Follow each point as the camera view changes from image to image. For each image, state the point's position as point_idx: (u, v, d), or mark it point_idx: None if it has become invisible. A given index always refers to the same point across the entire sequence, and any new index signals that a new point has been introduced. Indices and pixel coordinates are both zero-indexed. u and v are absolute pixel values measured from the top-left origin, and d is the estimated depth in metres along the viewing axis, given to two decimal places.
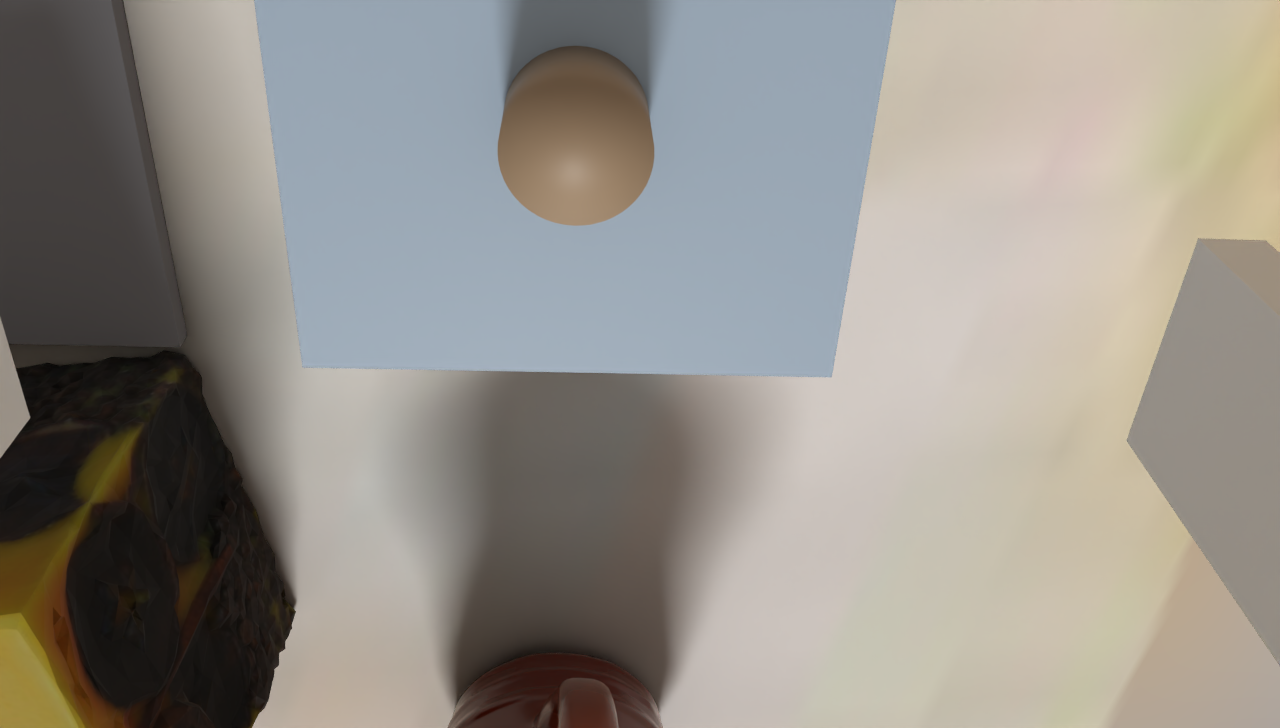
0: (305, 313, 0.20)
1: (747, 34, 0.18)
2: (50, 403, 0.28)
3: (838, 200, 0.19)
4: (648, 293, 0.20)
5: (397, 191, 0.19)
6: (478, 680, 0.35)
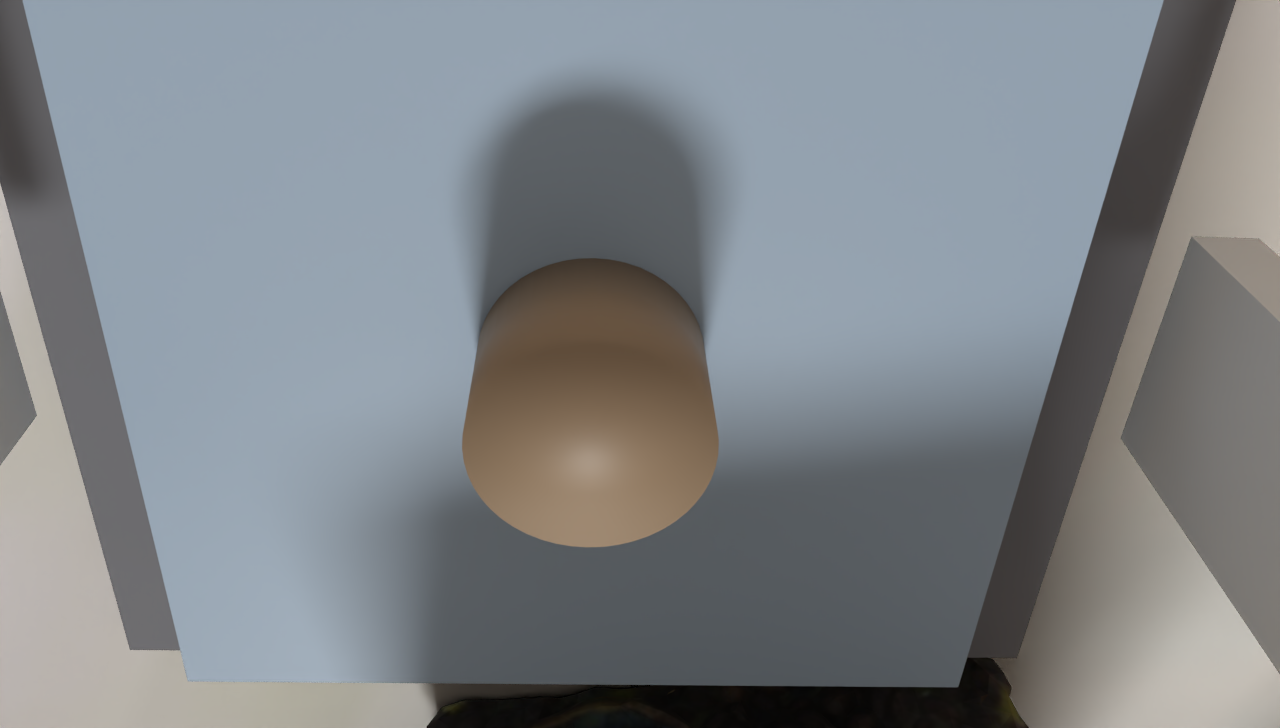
0: (186, 616, 0.13)
1: (863, 241, 0.11)
2: None
3: (988, 467, 0.13)
4: (696, 587, 0.14)
5: (315, 459, 0.12)
6: None
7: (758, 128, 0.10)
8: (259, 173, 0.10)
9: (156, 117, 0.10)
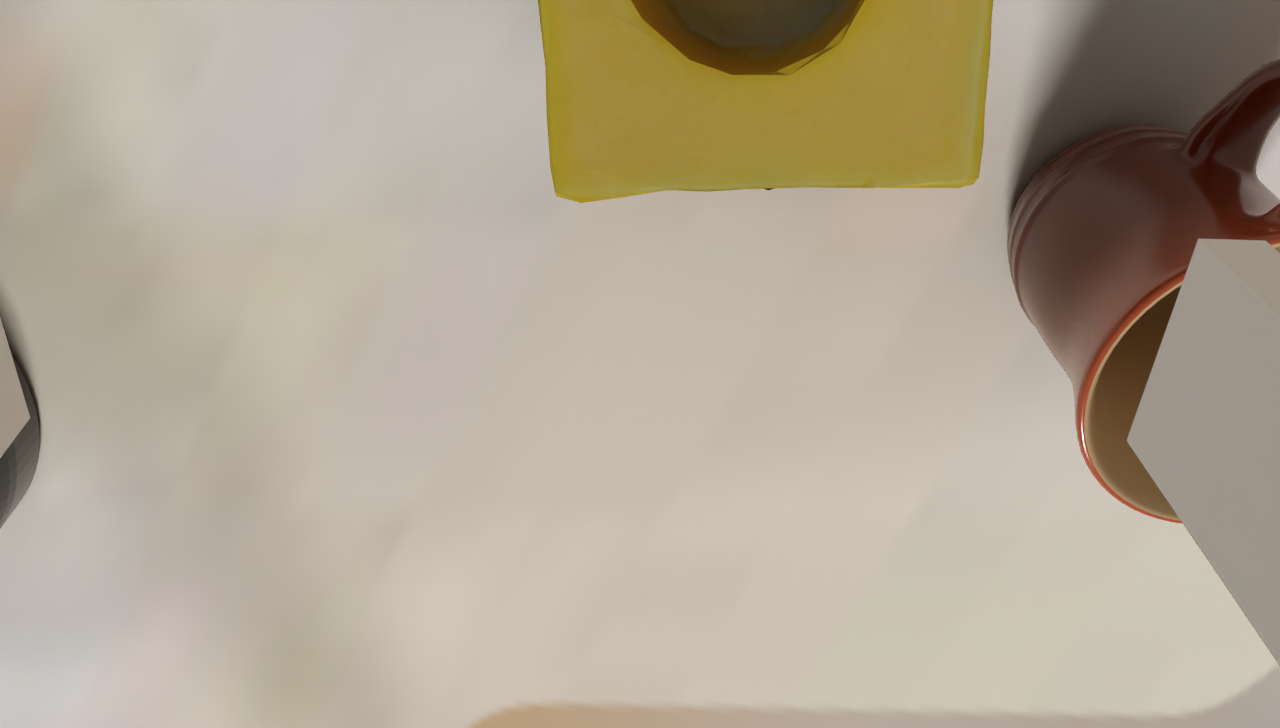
0: None
1: None
2: None
3: None
4: None
5: None
6: (1064, 151, 0.34)
7: None
8: None
9: None
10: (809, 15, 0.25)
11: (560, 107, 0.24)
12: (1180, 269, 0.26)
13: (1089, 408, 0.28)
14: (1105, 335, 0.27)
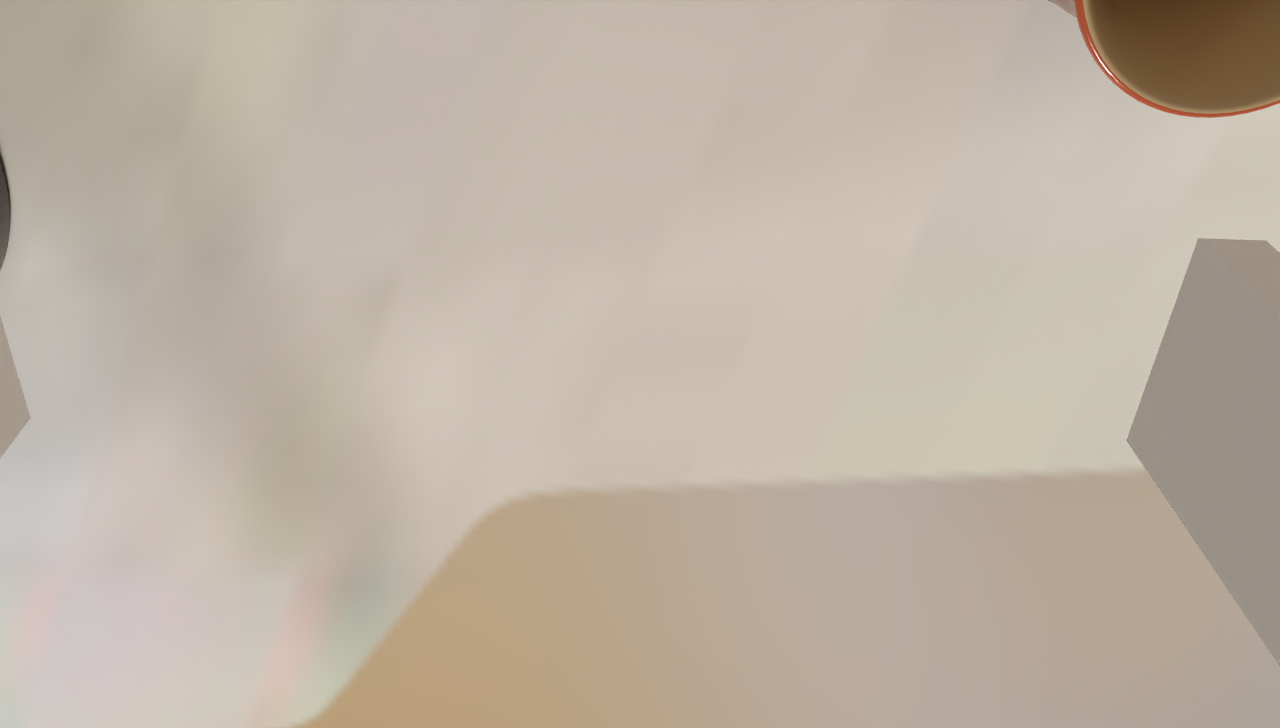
0: None
1: None
2: None
3: None
4: None
5: None
6: None
7: None
8: None
9: None
10: None
11: None
12: None
13: None
14: None
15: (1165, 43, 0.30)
